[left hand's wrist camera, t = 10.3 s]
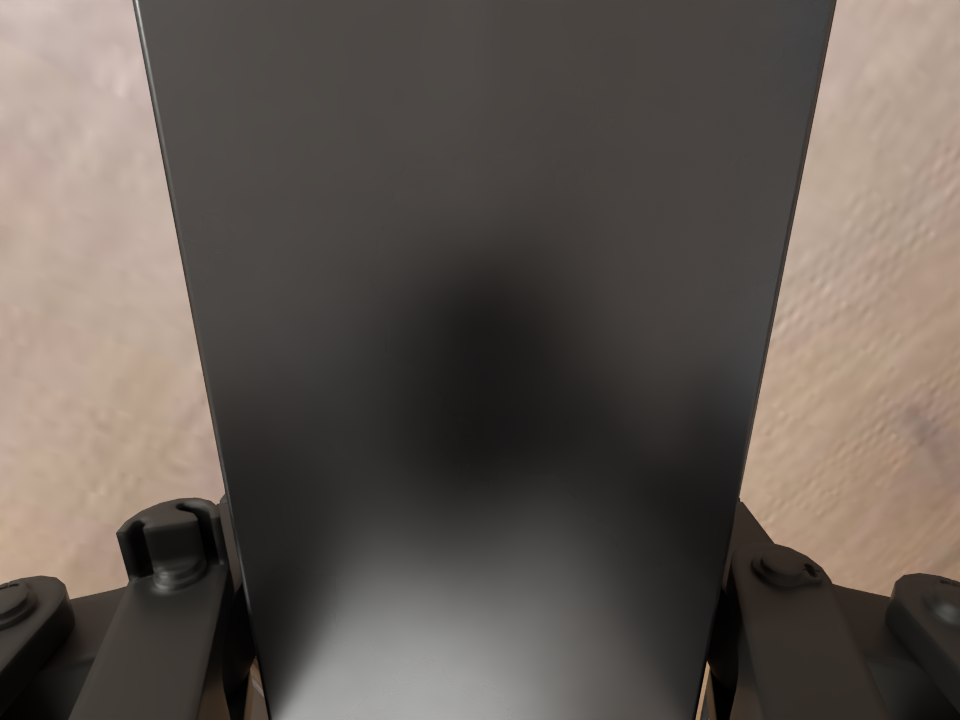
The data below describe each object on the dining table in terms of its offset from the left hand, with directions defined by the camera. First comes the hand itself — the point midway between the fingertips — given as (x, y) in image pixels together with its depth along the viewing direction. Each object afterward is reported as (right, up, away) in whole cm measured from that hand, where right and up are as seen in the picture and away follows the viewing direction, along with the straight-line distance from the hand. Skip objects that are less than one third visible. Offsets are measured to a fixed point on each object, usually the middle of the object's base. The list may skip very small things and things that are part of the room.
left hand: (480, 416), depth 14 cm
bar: (0, +9, -3) cm, 9 cm away
